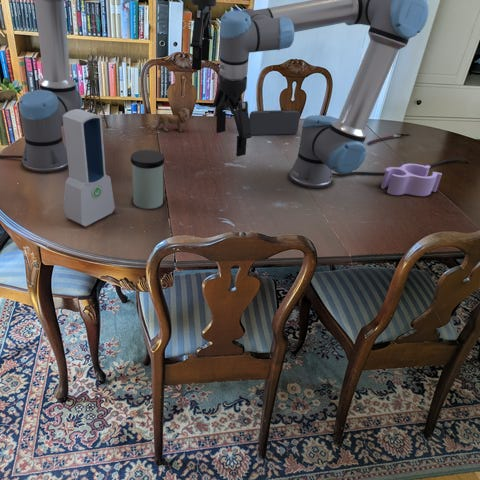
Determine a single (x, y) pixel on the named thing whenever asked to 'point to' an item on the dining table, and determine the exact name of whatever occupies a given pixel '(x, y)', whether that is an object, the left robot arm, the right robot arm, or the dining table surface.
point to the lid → (147, 159)
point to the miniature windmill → (92, 78)
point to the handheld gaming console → (274, 122)
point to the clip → (410, 180)
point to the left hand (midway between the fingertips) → (200, 65)
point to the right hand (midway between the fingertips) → (230, 143)
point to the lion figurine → (174, 119)
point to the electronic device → (86, 169)
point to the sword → (386, 138)
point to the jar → (147, 187)
